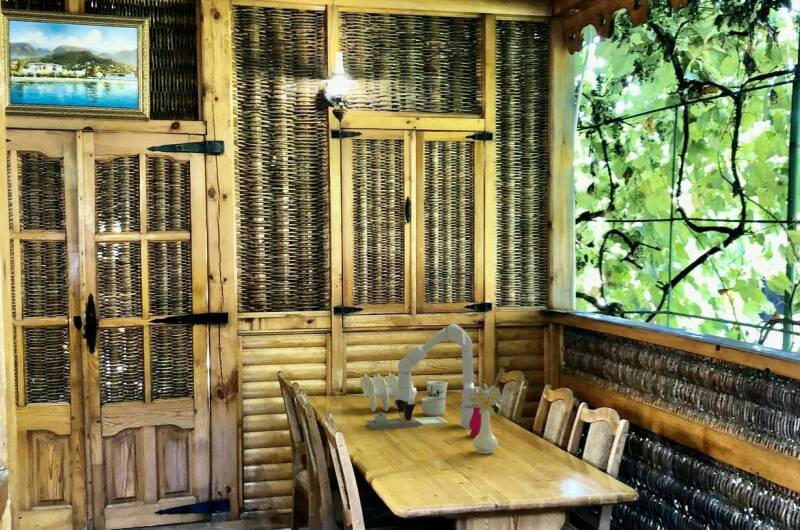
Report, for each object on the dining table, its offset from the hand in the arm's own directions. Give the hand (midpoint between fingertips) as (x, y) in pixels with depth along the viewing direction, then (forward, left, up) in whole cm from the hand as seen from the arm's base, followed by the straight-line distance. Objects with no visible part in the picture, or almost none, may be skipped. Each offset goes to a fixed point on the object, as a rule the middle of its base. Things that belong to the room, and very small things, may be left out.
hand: (405, 418), depth 365 cm
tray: (+2, -12, -3) cm, 13 cm away
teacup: (+17, -20, -3) cm, 27 cm away
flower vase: (-54, -13, -3) cm, 56 cm away
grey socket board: (0, +6, -3) cm, 6 cm away
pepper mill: (-28, -21, -3) cm, 35 cm away
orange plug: (0, 0, -3) cm, 3 cm away
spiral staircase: (+34, -4, -3) cm, 34 cm away
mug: (+47, -33, -3) cm, 58 cm away
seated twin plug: (0, +11, -3) cm, 11 cm away
